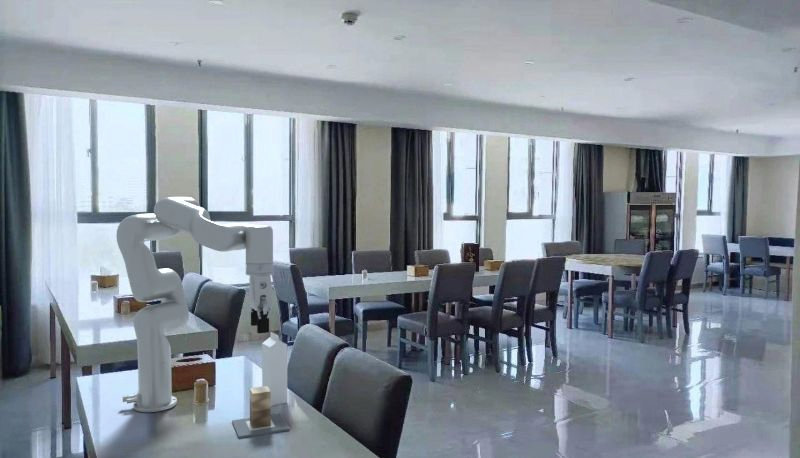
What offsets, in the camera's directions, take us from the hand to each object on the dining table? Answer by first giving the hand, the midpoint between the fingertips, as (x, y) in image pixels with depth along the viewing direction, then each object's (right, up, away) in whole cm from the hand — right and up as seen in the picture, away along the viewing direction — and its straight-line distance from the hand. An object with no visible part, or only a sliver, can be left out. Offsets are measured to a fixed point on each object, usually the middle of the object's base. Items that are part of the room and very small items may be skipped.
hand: (259, 328), depth 166 cm
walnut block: (0, -28, +2) cm, 28 cm away
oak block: (0, -23, +1) cm, 23 cm away
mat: (0, -28, +2) cm, 28 cm away
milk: (0, -27, +21) cm, 35 cm away
